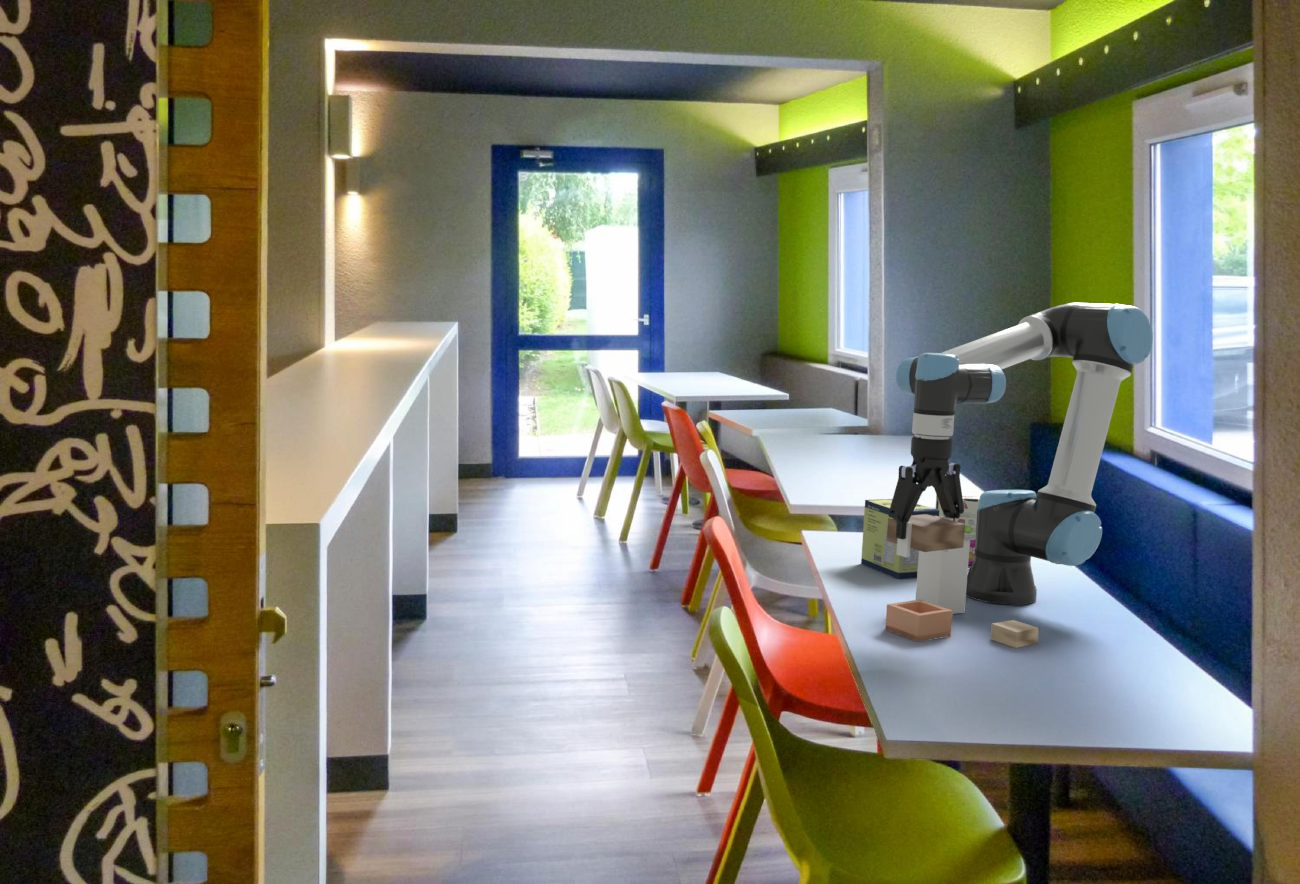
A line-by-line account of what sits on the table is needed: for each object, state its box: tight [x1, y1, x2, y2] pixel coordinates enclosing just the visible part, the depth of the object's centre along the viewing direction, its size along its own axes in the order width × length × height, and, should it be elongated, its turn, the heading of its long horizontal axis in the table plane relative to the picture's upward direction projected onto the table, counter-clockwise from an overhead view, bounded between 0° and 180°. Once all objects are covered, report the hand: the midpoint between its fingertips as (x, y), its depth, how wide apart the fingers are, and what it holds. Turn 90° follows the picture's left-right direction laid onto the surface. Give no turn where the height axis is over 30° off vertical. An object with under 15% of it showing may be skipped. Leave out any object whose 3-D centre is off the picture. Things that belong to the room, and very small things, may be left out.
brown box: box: [887, 514, 965, 552], centre depth 231 cm, size 10×10×4 cm
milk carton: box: [915, 516, 970, 615], centre depth 249 cm, size 7×7×19 cm
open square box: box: [884, 599, 953, 643], centre depth 233 cm, size 9×9×5 cm
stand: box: [990, 619, 1040, 649], centre depth 230 cm, size 6×6×3 cm
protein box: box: [860, 498, 939, 580], centre depth 283 cm, size 10×16×16 cm
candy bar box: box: [935, 494, 980, 568], centre depth 292 cm, size 11×5×16 cm, turn 80°
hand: (923, 553), depth 231 cm, fingers closed on brown box, 10 cm apart
